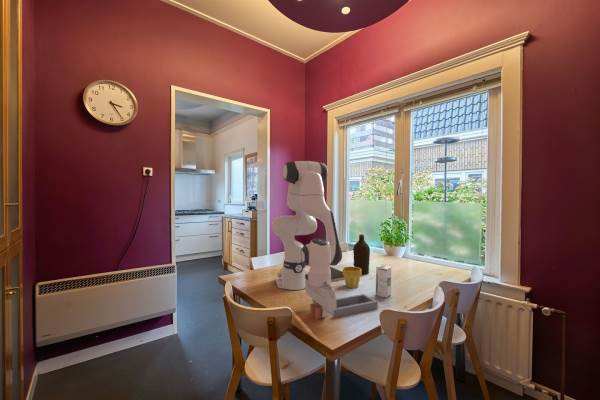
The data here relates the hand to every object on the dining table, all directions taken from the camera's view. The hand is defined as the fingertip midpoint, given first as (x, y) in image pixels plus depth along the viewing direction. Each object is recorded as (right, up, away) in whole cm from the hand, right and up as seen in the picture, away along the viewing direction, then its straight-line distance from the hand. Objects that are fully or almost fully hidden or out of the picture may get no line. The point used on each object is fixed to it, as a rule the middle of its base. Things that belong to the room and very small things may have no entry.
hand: (319, 313), depth 102 cm
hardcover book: (+11, -2, +57) cm, 58 cm away
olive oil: (+32, -2, +62) cm, 70 cm away
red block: (+2, +1, +1) cm, 2 cm away
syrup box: (+34, -2, +24) cm, 41 cm away
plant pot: (+21, -2, +36) cm, 42 cm away
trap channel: (+14, -2, +6) cm, 15 cm away
